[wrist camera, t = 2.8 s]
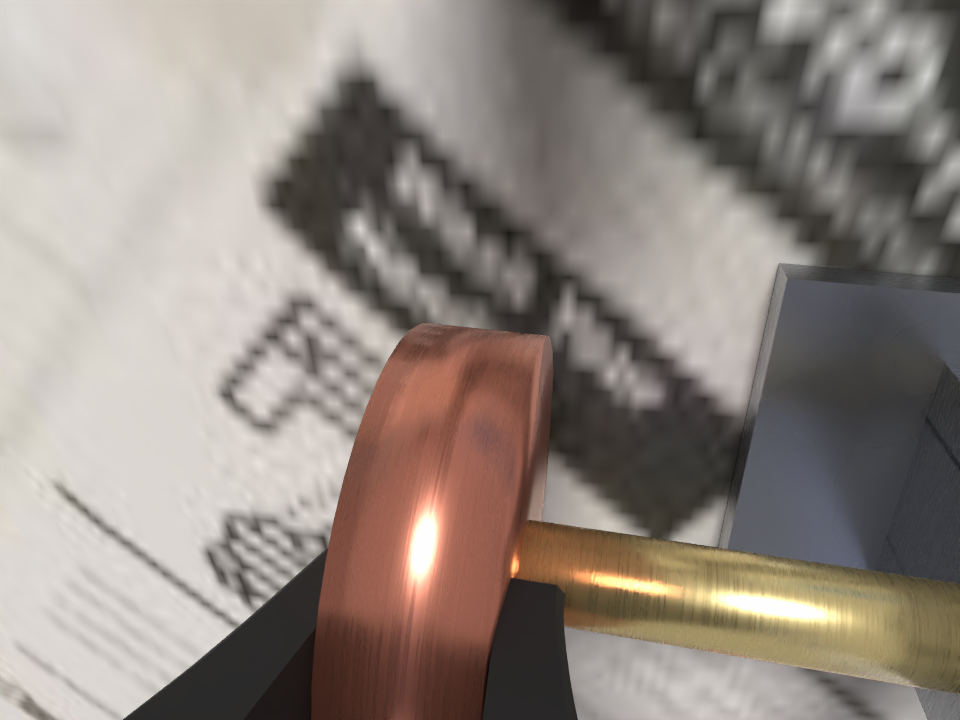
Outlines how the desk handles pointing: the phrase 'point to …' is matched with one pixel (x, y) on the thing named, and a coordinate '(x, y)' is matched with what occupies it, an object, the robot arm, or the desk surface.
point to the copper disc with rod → (555, 555)
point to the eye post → (855, 430)
